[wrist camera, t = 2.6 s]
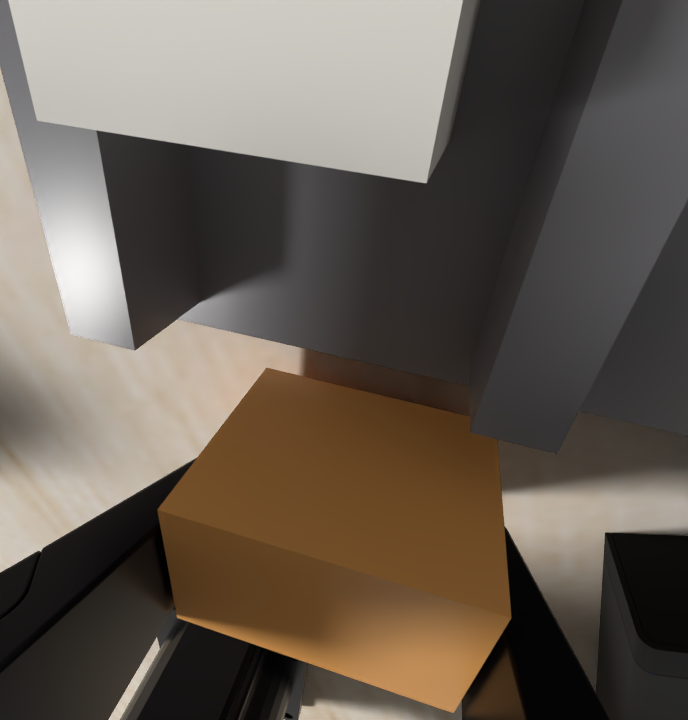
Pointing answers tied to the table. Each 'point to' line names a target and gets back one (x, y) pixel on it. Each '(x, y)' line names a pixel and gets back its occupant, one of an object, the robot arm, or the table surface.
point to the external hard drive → (644, 627)
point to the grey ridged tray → (421, 228)
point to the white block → (257, 75)
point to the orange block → (346, 536)
